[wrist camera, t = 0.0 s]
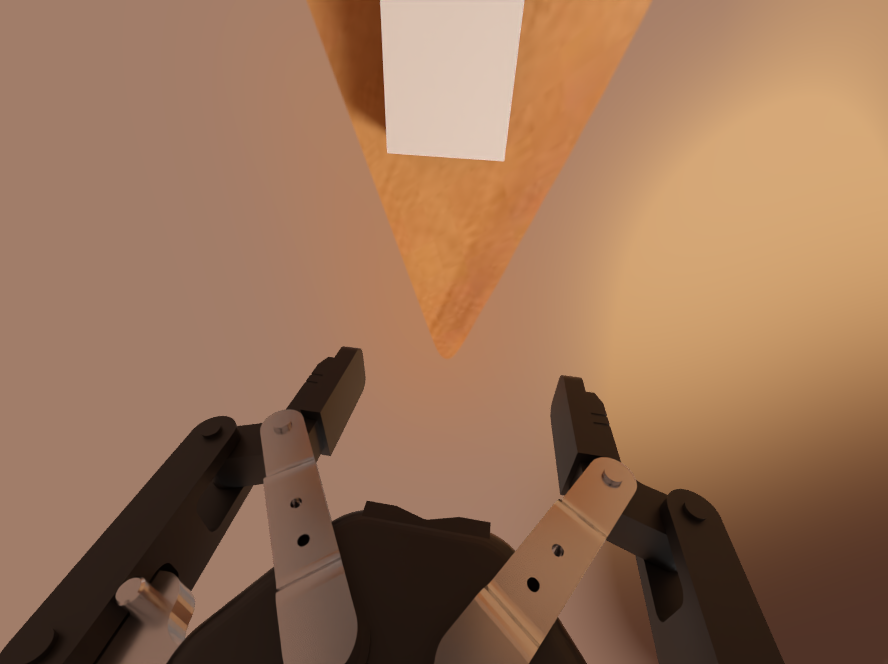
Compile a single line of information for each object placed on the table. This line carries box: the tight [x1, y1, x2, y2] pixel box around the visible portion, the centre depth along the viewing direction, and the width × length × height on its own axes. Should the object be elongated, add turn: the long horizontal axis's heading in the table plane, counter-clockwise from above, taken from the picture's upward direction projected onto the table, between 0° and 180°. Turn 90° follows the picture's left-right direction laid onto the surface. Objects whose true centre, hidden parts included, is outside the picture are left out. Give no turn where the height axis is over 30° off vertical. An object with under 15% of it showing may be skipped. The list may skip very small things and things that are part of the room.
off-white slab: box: [380, 0, 524, 161], centre depth 28 cm, size 10×10×4 cm
